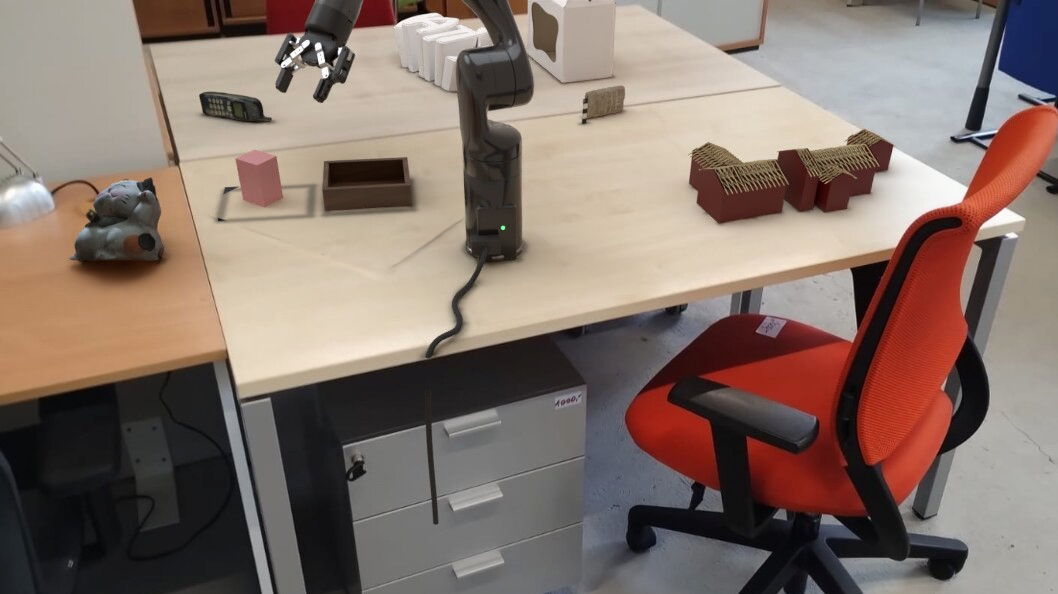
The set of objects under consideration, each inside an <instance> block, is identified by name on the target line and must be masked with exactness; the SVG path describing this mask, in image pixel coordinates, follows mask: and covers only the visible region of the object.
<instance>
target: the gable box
mask: <svg viewBox="0 0 1058 594" xmlns="http://www.w3.org/2000/svg"><path fill="white" fill-rule="evenodd" d="M616 12H617V2H616V1H614V0H527V54H528V57H530V58H532V59H533V60H534V61H535V62H537V63H538V64H539V65H540V66H541V67H543V69H545V70H546V71H547V72H549V73H550V75H552V76H553V77H554V78H555V79H557V80H558V81H560V82H561V83H562V84H568V83H575V82H583V81H590V80H591V81H593V80H601V79H607V78H608V79H609V78H612V77H613V73H614V72H613V71H614V70H613V69H614V52H615V32H616V31H615V30H616Z"/></svg>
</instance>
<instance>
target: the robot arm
mask: <svg viewBox="0 0 1058 594" xmlns="http://www.w3.org/2000/svg"><path fill="white" fill-rule="evenodd" d="M461 1H462V2H463V4H465V5H466V6H467V7H468V8H469V9H471V11H472V12H473V13H474V14H475V15H476V17H477V18H478V19H479V20H480V21H481V23H482V25H483V26H484V28H486V30H487V32H488V34H489V36H490V38H491V41H492V43H493V44H492V46H486V47H477V48H470V49H465V50H462V51H461V52H460V53H459V55H458V57H457V60H456V86H457V92H456V95H457V105H458V118H459V131H460V137H461V144H462V145H461V146H462V147H461V148H462V149H461V151H462V168H463V169H462V174H463V196H464V222H465V223H464V224H465V249H466V251H467V252H468V254H470V255H471V256H472V257H474V258H477V261H478V262H477V263H478V264H477V266H476V268H475V270H474V272H473V274H472V275H471V277H470V278H469V280H468V281H467V282H466V284H465V285H464V286H463V287H461V288H460V289H459V290H458V291H457V292H456V293H455V295H454V296H453V299H452V300H451V308H452V312H453V314H454V317H455V319H456V324H455V326H454V327H453V328H452V329H450V330H447V331H445V332H442V333H441V334H439V335H438V336H436V337H435V338H434V339H433V340H432V341H431V342H430V344H429V346H428V347H427V349H426V352H425V356H424V358H425V359H430V358H432V356H433V354H434V351H435V349H436V347H437V346H438V345H439V344H440V343H442V342H443V341H445V340H447V339H449V338H452V337H454V336H455V335H457V334H458V333H459V332H460V331H461V330H462V327H463V324H464V319H463V315H462V312H461V311H460V309H459V301H460V299H461V298H462V296H463V295H464V294H466V293H467V292H468V291H469V290H470V289H471V288H472V287H473V285H474V284H475V282H476V281H477V279H478V278H479V276H480V274H481V271H482V270H483V268H484V266H485V263H486V262H491V261H492V262H493V261H505V260H507V261H508V260H517V258H518V255H519V254H520V253H521V252H522V251H523V248H524V240H523V138H522V135H521V132H520V131H519V130H518V129H517V128H515V127H514V126H512V125H510V124H507V123H504V122H500V121H496V120H491V119H488V118H489V116H488V112H491V111H499V110H505V109H513V108H520V107H523V106H527V105H528V104H530V102H531V101H532V99H533V97H534V94H535V80H534V72H533V68H532V65H531V60H530V58H529V57H530V56H529V55H528V50H527V49H526V48H527V47H526V45H525V42H524V40H523V38H522V35H521V32H520V29H519V27H518V24H517V21H516V18H515V16H514V13H513V11H512V8H511V4H510V2H509V0H461ZM363 3H364V0H315V1H314V3H313V5H312V8H311V9H310V12H309V14H308V17H307V19H306V21H305V23H304V34H303V35H302V36H301V37H298V36H295V35H294V33H292V32H288V33H287V34H286V36H285V38H284V40H283V42H282V44H281V46H280V48H279V50H278V52H277V54H276V56H275V58H274V62H275V64H277V65H278V66H279V67H280V71H279V73H278V76H277V78H276V80H275V89H276V90H278V91H279V92H280V93H283V94H286V93H287V92H288V89H289V88H290V85H291V82H292V81H293V78H294V74H295V73H296V72H298V71H299V70H301V69H305V68H307V67H317V68H318V69H320V70H321V74H322V78H320V79H319V81H318V82H317V83H318V84H317V85H316V88H315V90H314V92H313V95H312V98H313V99H314V100H315V101H316V102H317V103H319V104H323V103H325V101H326V100H327V99H328V97H329V94H330V92H331V90H332V87H333V86H334V85H336V84H338V83H339V84H341V85H344V84H345V83H346V81H347V79H348V76H349V74H350V71H351V68H352V67H353V66H352V65H353V63H354V60H355V58H356V53H354V51H353V50H352V49H350V48H349V46H347V43H348V41H349V39H350V36H351V34H352V31H353V29H354V27H355V25H356V22H357V20H358V18H359V15H360V13H361V10H362V6H363ZM299 57H300V58H299ZM335 60H337V61H336V62H335ZM424 405H425V407H424V409H425V410H424V411H425V414H424V415H425V437H426V438H425V439H426V440H425V441H426V453H427V454H426V455H427V466H428V476H429V477H428V478H429V489H430V497H431V498H430V499H431V511H432V513H431V514H432V524H433V525H434V526H436V525H438V524H439V509H438V508H439V507H438V506H439V505H438V494H437V484H436V483H437V482H436V471H435V460H434V446H433V426H432V425H433V421H432V389H425V390H424Z"/></svg>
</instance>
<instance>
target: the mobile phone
mask: <svg viewBox="0 0 1058 594" xmlns="http://www.w3.org/2000/svg"><path fill="white" fill-rule="evenodd" d="M198 97H199V101H200V106H201V111H202V114H203V115H207V116H210V117H211V116H212V117H218V118H225V119H231V120H236V121H241V122H254V121H255V122H256V121H259V120H261V121H270V122H271V121H272V120H273V117H269V116H265V114H264V113H265V112H264V106H263V103H262V102H261V100H260V99H259V98H257V97H252V96H249V95H245V94H244V95H243V94H235V93H227V92H223V91H204V92H201V93H199V94H198Z"/></svg>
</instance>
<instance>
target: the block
mask: <svg viewBox="0 0 1058 594" xmlns="http://www.w3.org/2000/svg"><path fill="white" fill-rule="evenodd" d="M277 157H278V156H277V155H274V154H271V153H268V152H264V151H261V150H257V149H253V150H251V151H248V152H246V153H244V154H241V155H239V156H238V157H235V164H236V169H237V176H238V180H239V186H240V190H241V191H240V192H241V196H242V201H245V202H248V203H250V204H253V205H257V206H260V207H262V208H267V207H269V206H271V205H272V204H274V203H275V202H278V201H279V200H281V199H283V198H284V194H283V187H282V182H281V176H280V169H279V162H278V158H277Z"/></svg>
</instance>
